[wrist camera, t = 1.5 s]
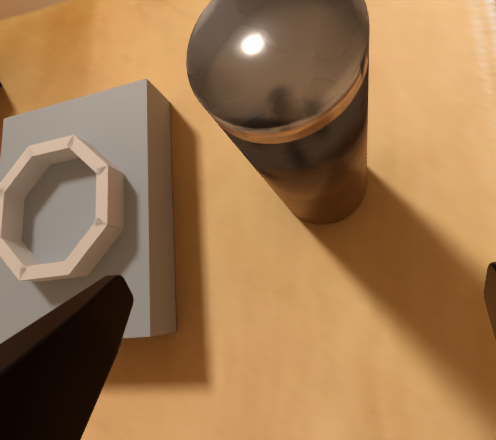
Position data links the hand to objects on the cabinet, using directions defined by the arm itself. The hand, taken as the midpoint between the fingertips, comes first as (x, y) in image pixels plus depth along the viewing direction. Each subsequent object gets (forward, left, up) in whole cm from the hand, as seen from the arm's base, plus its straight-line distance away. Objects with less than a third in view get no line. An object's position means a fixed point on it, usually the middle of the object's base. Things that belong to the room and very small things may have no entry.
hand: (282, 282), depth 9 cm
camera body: (+6, +16, -12) cm, 21 cm away
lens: (+6, 0, -12) cm, 14 cm away
